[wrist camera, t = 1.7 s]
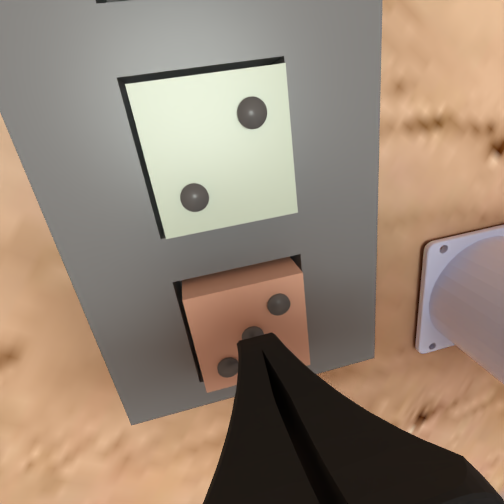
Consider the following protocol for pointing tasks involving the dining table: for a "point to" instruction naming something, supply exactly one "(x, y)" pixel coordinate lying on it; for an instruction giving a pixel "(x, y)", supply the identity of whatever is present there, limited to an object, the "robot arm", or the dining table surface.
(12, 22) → the tile tray
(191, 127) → the tile two
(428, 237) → the dining table surface
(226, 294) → the tile three
